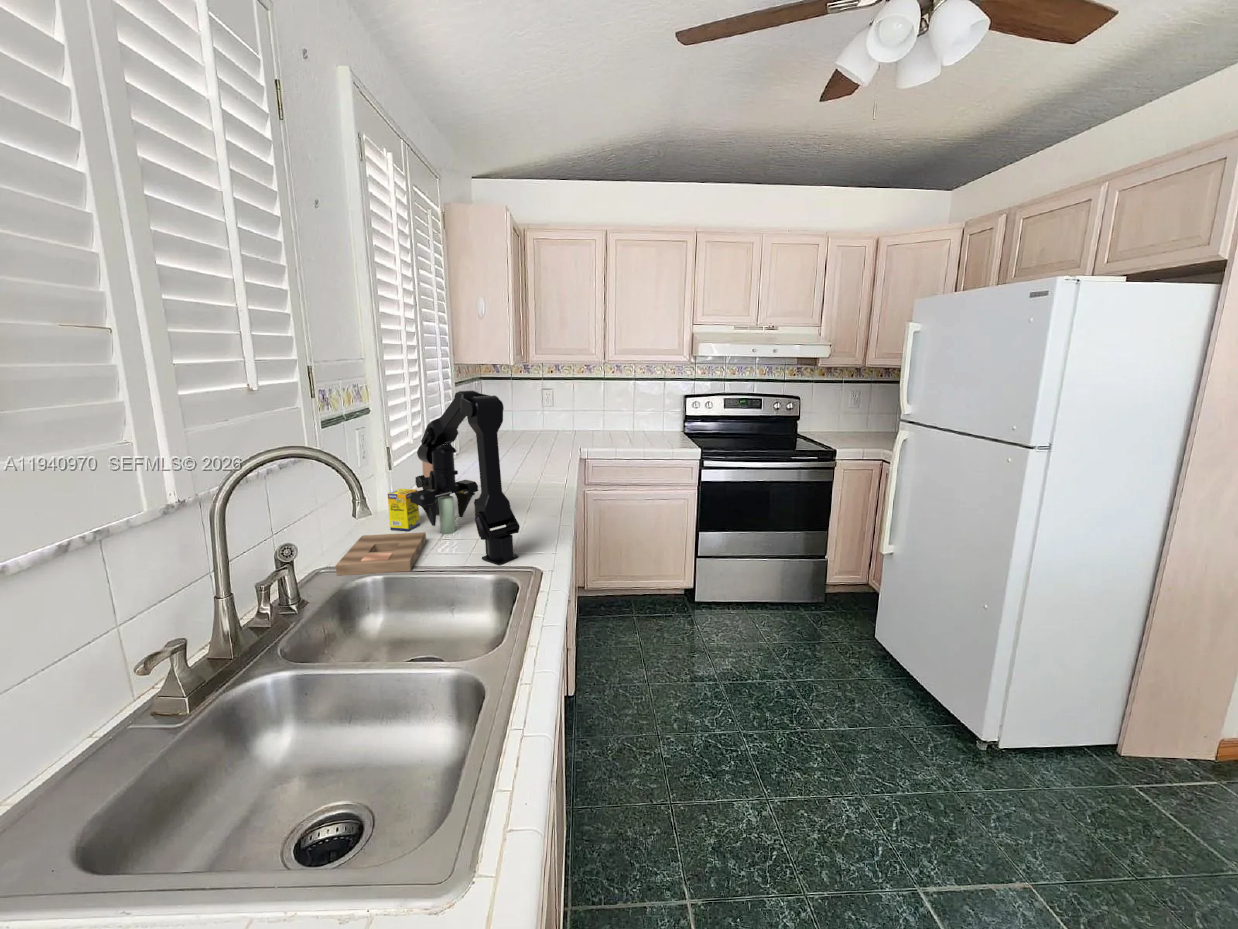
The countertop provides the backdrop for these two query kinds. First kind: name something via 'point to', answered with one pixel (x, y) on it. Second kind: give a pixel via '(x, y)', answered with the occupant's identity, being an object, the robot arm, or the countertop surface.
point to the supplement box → (402, 510)
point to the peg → (446, 514)
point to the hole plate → (382, 554)
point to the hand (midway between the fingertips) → (447, 521)
